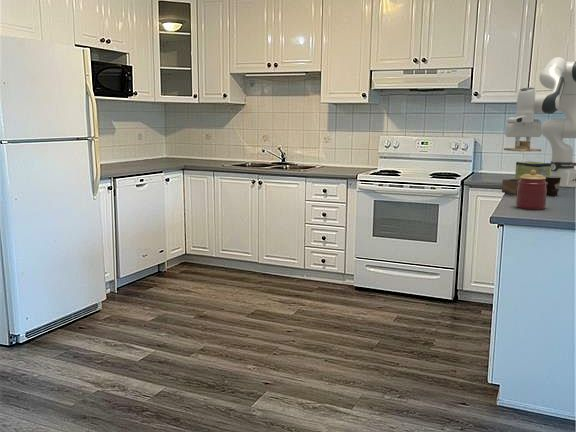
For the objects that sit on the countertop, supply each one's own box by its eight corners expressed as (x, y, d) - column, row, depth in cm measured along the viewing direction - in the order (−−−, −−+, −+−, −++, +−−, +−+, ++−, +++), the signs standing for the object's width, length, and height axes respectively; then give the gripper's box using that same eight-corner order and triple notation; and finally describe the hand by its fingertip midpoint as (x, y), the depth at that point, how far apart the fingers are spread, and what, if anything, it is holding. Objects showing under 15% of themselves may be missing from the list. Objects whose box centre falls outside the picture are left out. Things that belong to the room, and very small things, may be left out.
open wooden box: (520, 191, 309) (520, 178, 307) (535, 194, 297) (536, 181, 296) (501, 192, 305) (502, 179, 304) (516, 195, 294) (517, 182, 293)
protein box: (526, 187, 323) (528, 160, 320) (549, 190, 309) (551, 163, 306) (513, 188, 319) (515, 161, 316) (535, 192, 305) (538, 164, 302)
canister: (525, 204, 268) (527, 167, 264) (551, 207, 257) (554, 170, 254) (509, 207, 260) (512, 169, 257) (536, 211, 250) (539, 172, 246)
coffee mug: (554, 194, 298) (555, 175, 296) (562, 196, 290) (564, 177, 288) (532, 194, 298) (534, 175, 296) (540, 196, 289) (542, 177, 287)
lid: (524, 149, 301) (524, 140, 300) (541, 151, 289) (541, 141, 288) (503, 150, 297) (504, 140, 297) (520, 151, 285) (520, 141, 284)
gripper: (536, 119, 296) (534, 145, 298) (504, 119, 290) (502, 145, 293) (545, 119, 290) (543, 145, 293) (512, 119, 284) (510, 146, 287)
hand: (522, 145), depth 293 cm, fingers closed on lid, 3 cm apart
